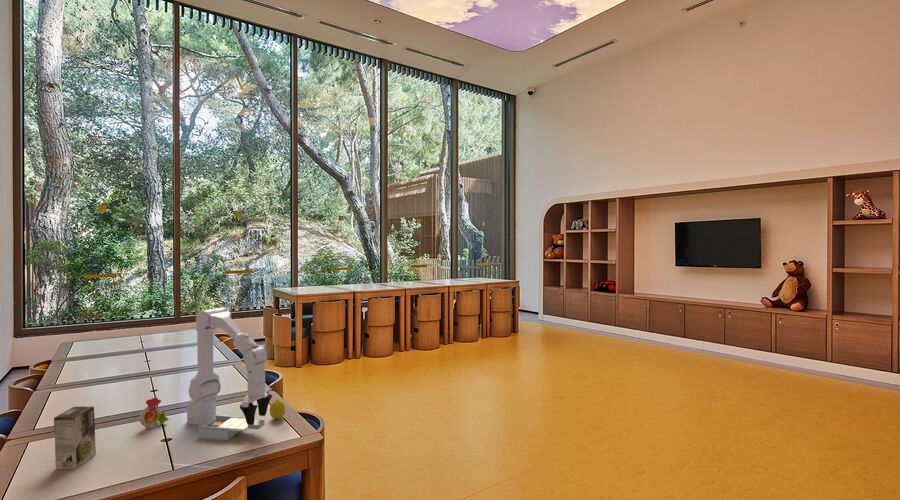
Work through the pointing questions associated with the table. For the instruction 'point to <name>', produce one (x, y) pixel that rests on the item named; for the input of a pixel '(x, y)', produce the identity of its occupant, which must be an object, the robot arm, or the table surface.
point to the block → (216, 424)
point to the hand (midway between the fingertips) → (256, 419)
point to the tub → (217, 429)
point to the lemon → (277, 409)
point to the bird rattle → (152, 414)
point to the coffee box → (74, 437)
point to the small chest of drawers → (241, 424)
